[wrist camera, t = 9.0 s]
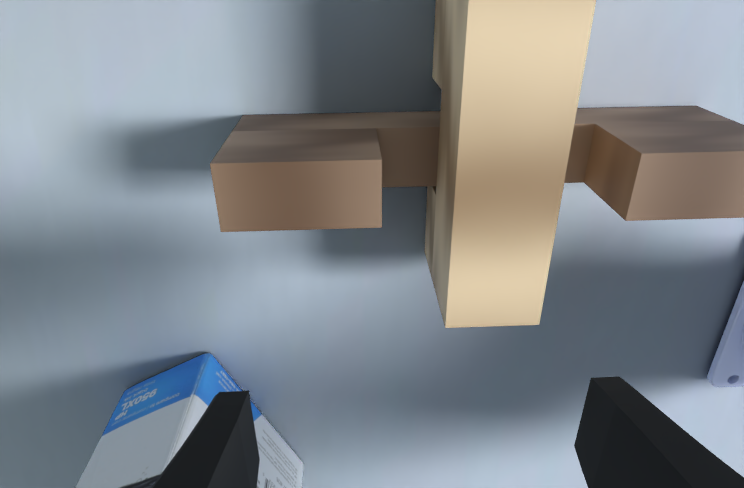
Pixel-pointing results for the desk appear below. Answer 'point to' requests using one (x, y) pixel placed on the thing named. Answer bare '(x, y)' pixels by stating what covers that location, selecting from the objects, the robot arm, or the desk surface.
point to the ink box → (176, 430)
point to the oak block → (501, 152)
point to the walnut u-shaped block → (420, 163)
